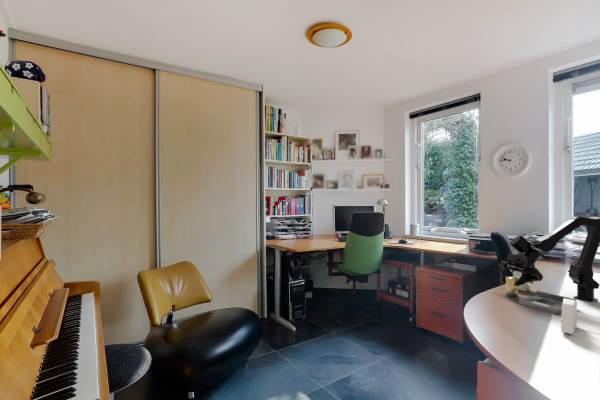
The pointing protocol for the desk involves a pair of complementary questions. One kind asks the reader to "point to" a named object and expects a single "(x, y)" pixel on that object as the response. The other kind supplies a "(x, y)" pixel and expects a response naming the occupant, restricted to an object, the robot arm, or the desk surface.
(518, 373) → the desk surface
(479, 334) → the desk surface
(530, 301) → the plate
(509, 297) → the grey square plate
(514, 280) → the brass knob
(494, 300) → the desk surface
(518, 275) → the pneumatic valve
